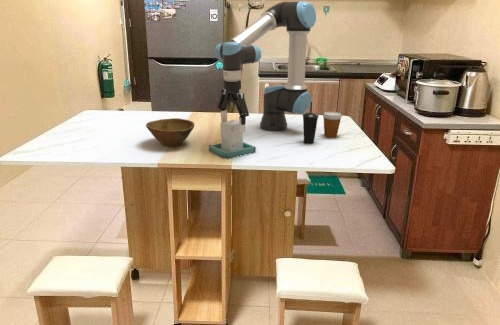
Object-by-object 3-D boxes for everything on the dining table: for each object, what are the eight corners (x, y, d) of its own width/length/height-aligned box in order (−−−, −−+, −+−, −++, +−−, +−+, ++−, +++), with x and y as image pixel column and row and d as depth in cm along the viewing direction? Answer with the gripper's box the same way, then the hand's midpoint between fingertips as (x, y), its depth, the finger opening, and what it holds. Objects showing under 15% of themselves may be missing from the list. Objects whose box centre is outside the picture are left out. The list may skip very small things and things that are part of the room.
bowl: (155, 154, 179) (153, 132, 176) (142, 140, 198) (141, 120, 195) (201, 147, 189) (201, 127, 185) (185, 135, 208) (184, 116, 204)
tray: (208, 150, 184) (208, 145, 184) (237, 144, 194) (237, 139, 193) (226, 159, 174) (226, 153, 173) (255, 152, 183) (255, 146, 183)
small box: (233, 146, 189) (233, 119, 184) (243, 149, 185) (243, 122, 180) (220, 150, 183) (220, 122, 179) (230, 153, 179) (230, 125, 175)
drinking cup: (317, 141, 201) (320, 101, 195) (315, 145, 195) (318, 104, 188) (302, 139, 204) (305, 100, 197) (299, 143, 197) (301, 102, 190)
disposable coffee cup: (339, 139, 205) (342, 116, 200) (320, 138, 206) (322, 115, 202) (339, 134, 213) (342, 112, 209) (321, 133, 215) (323, 111, 211)
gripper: (209, 77, 180) (210, 123, 188) (242, 85, 162) (243, 136, 169) (223, 75, 184) (224, 120, 192) (257, 83, 166) (257, 132, 173)
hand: (232, 128), depth 180 cm, fingers open, 13 cm apart
